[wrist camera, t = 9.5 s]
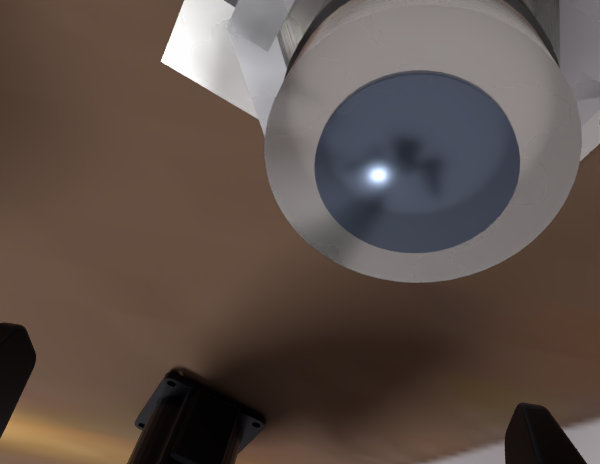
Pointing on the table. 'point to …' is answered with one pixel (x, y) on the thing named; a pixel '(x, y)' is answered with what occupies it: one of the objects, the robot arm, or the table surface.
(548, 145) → the lens
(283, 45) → the camera body
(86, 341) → the table surface
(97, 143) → the table surface
